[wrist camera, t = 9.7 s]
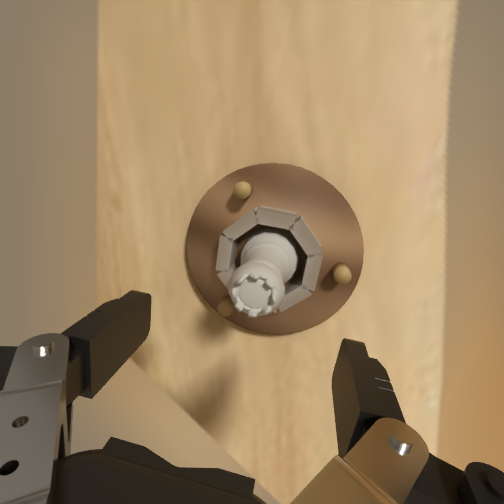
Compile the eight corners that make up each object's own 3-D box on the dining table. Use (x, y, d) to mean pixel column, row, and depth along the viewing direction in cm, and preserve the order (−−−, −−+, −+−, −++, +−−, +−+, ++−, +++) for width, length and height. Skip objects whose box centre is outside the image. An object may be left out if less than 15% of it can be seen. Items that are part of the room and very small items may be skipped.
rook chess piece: (309, 266, 23) (310, 314, 16) (260, 290, 24) (239, 345, 17) (281, 216, 22) (268, 241, 15) (232, 243, 24) (197, 279, 16)
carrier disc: (200, 150, 23) (184, 147, 20) (382, 179, 22) (395, 181, 19) (185, 307, 28) (170, 325, 25) (337, 343, 26) (341, 366, 23)
